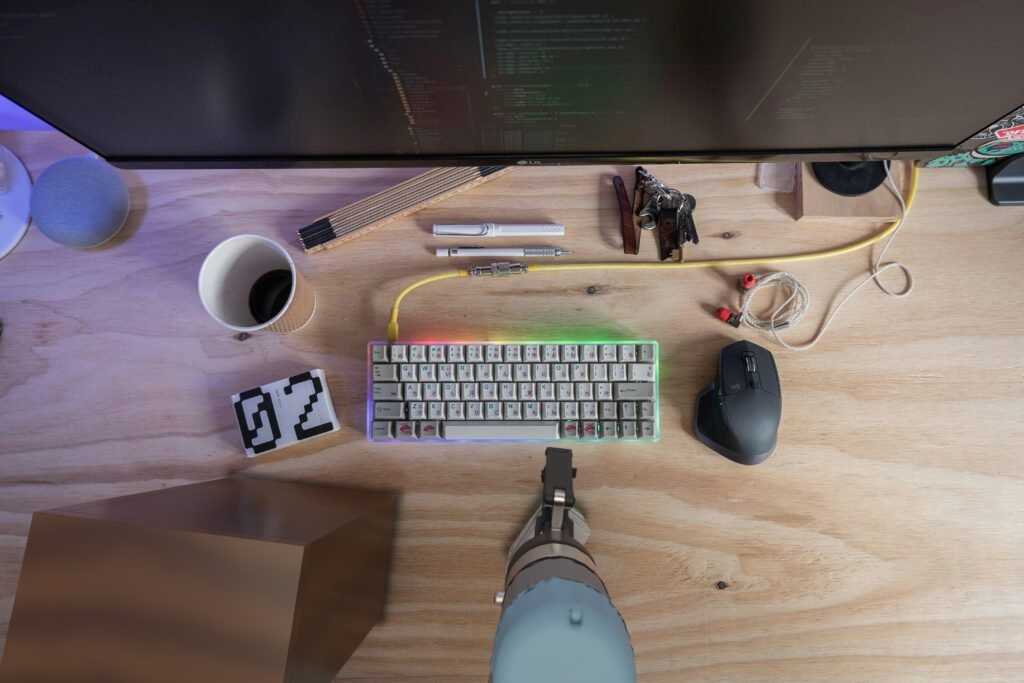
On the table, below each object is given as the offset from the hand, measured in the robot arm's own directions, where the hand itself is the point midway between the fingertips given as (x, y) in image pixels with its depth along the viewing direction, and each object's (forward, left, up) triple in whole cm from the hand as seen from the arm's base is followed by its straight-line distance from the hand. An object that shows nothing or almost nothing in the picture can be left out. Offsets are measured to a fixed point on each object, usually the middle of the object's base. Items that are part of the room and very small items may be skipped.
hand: (546, 537), depth 66 cm
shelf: (-5, +28, +23) cm, 37 cm away
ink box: (0, 0, -5) cm, 5 cm away
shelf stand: (-5, +28, -5) cm, 29 cm away
